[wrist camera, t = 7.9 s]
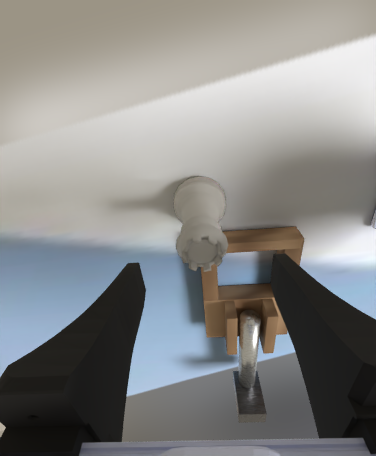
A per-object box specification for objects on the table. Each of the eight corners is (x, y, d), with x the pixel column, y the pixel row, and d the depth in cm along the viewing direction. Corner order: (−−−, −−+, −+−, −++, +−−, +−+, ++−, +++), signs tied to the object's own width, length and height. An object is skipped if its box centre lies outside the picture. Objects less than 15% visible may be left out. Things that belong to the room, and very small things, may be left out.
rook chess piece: (163, 201, 22) (149, 259, 15) (196, 163, 20) (199, 208, 13) (201, 229, 23) (205, 293, 16) (235, 196, 21) (256, 252, 14)
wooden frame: (296, 226, 23) (315, 254, 19) (281, 319, 29) (293, 352, 26) (198, 233, 23) (199, 261, 20) (206, 322, 30) (207, 356, 26)
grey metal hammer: (263, 309, 25) (276, 352, 21) (256, 378, 32) (265, 422, 28) (233, 310, 25) (241, 354, 21) (233, 379, 32) (238, 422, 28)
